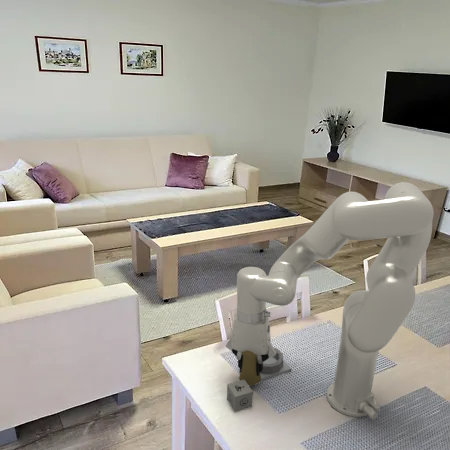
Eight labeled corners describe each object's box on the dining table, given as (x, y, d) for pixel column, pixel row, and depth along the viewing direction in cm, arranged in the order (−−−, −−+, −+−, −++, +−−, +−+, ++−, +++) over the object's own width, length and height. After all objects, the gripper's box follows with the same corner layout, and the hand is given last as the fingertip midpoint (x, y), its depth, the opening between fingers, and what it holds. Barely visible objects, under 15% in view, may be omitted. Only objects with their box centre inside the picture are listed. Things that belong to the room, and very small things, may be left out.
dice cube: (226, 399, 114) (227, 384, 112) (243, 394, 115) (244, 379, 114) (234, 412, 109) (235, 396, 108) (252, 407, 111) (253, 391, 110)
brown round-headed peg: (247, 368, 123) (248, 335, 119) (265, 377, 119) (266, 343, 116) (234, 379, 118) (235, 344, 115) (252, 388, 115) (253, 353, 111)
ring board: (291, 371, 125) (292, 361, 124) (259, 382, 120) (260, 372, 119) (270, 350, 134) (271, 341, 133) (240, 360, 129) (240, 350, 128)
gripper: (285, 310, 113) (282, 368, 119) (225, 301, 118) (225, 357, 124) (279, 325, 106) (277, 386, 112) (216, 315, 111) (217, 373, 117)
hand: (250, 370), depth 118 cm, fingers closed on brown round-headed peg, 4 cm apart
